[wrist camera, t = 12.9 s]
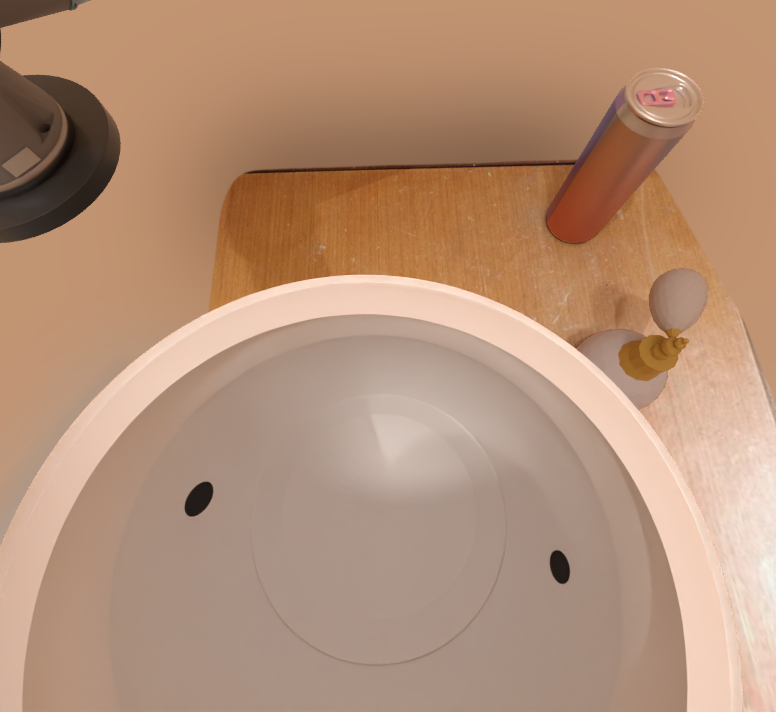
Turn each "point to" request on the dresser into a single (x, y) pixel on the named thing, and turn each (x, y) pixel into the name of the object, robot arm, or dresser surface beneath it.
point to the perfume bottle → (650, 338)
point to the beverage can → (624, 151)
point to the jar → (363, 525)
